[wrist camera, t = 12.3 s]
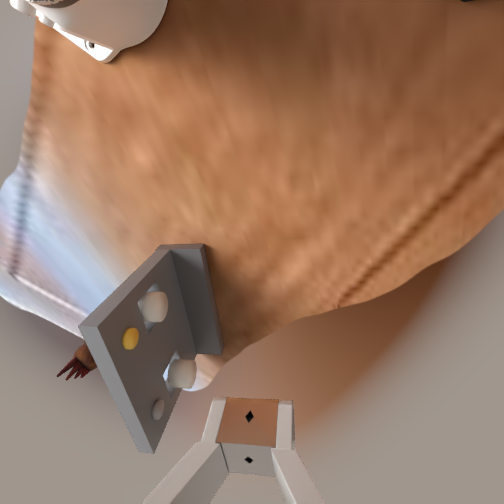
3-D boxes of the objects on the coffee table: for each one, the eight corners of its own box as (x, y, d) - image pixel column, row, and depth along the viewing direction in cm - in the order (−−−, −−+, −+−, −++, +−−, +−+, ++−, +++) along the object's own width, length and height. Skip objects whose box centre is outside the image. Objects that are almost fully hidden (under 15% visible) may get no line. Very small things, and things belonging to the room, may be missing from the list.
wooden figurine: (99, 311, 59) (41, 369, 46) (122, 309, 58) (69, 368, 45) (112, 336, 62) (61, 397, 49) (135, 334, 61) (88, 397, 47)
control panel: (203, 243, 48) (141, 328, 29) (224, 347, 58) (187, 458, 40) (160, 244, 49) (75, 326, 31) (188, 345, 59) (137, 451, 41)
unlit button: (193, 354, 48) (183, 376, 44) (198, 372, 49) (189, 394, 46) (176, 353, 48) (165, 374, 44) (181, 371, 50) (171, 393, 46)
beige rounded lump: (163, 285, 42) (149, 303, 38) (170, 309, 44) (157, 328, 40) (144, 285, 42) (128, 303, 38) (151, 309, 44) (137, 328, 40)
